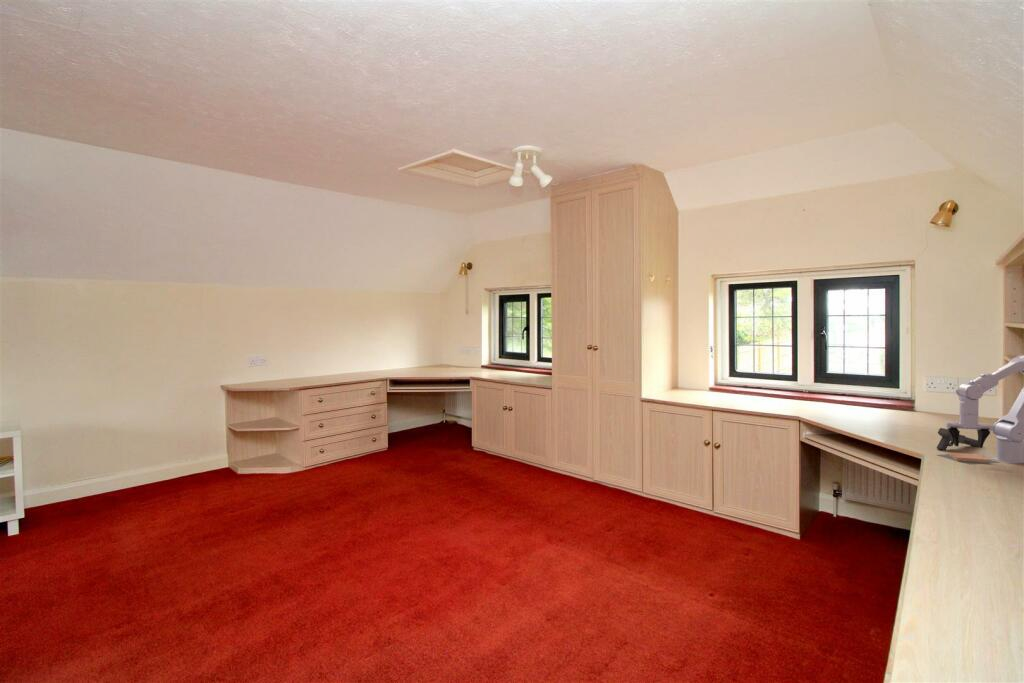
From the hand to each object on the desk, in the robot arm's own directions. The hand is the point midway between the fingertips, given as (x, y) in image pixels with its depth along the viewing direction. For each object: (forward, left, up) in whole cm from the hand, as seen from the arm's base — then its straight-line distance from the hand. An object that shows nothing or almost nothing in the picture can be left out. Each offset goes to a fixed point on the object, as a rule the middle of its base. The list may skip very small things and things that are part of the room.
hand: (968, 446), depth 207 cm
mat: (-1, -1, -6) cm, 6 cm away
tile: (-2, -4, -5) cm, 6 cm away
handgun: (-15, -17, -6) cm, 23 cm away
